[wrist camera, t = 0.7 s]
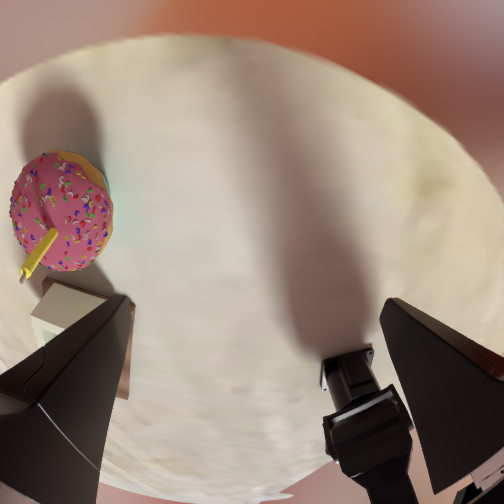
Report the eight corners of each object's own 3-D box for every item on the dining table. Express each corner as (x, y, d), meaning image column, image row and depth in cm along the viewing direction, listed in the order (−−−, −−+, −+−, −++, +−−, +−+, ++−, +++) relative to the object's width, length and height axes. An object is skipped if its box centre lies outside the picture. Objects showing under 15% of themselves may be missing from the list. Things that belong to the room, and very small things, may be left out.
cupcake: (141, 153, 19) (55, 203, 8) (124, 252, 22) (67, 358, 12) (49, 136, 17) (-60, 174, 6) (43, 230, 20) (-37, 308, 10)
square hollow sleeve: (116, 352, 26) (104, 388, 22) (59, 333, 25) (42, 365, 20) (118, 303, 23) (102, 341, 19) (54, 282, 22) (30, 315, 17)
